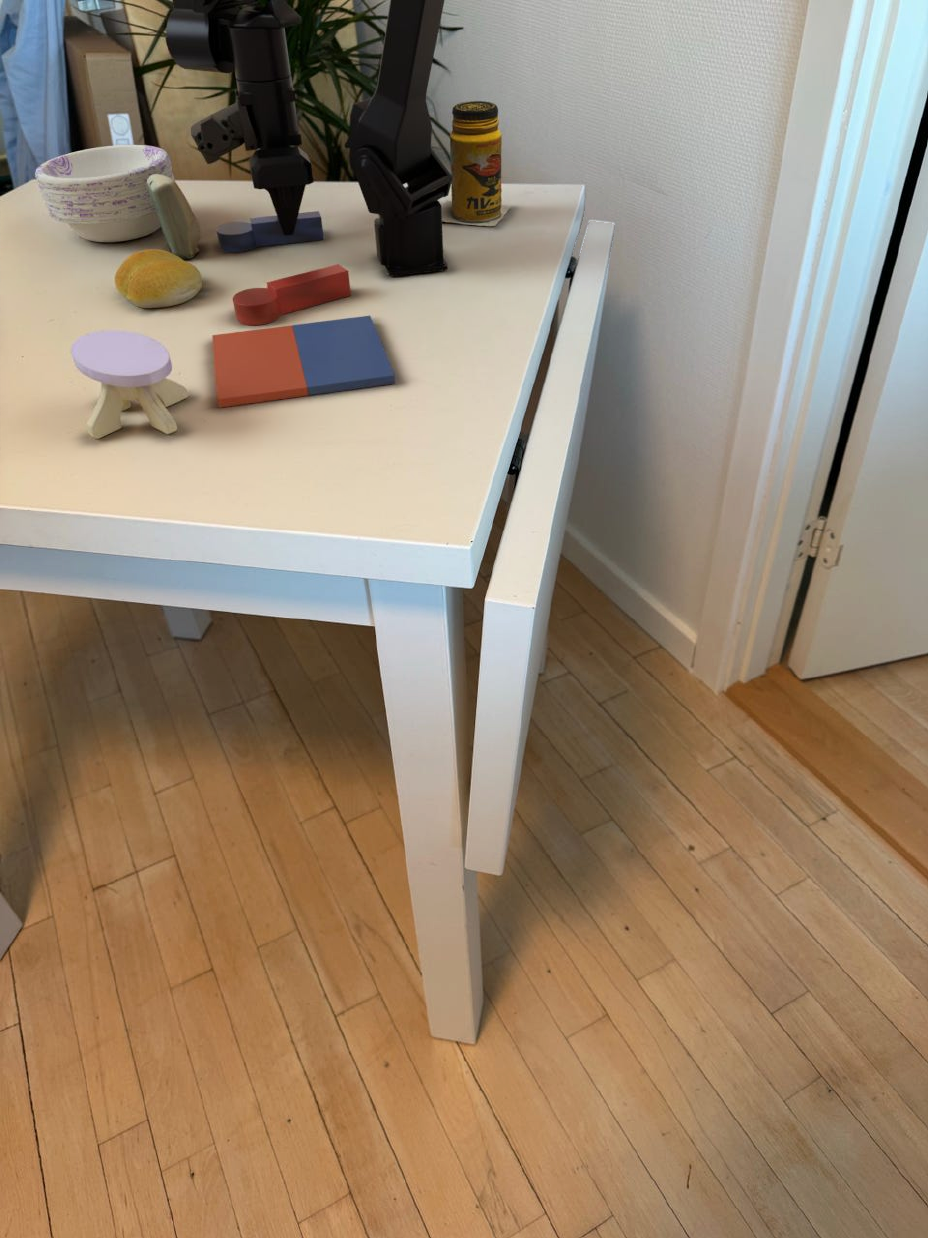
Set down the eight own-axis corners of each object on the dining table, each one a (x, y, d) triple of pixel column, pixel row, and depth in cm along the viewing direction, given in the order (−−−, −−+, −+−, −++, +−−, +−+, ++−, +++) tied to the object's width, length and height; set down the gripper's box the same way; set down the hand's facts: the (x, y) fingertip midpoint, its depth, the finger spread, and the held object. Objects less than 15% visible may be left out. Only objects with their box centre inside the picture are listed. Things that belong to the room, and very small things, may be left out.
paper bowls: (52, 221, 110) (29, 152, 105) (174, 203, 114) (158, 135, 109) (61, 261, 99) (36, 186, 94) (195, 239, 104) (178, 166, 98)
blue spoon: (320, 230, 105) (317, 207, 103) (325, 242, 102) (322, 219, 100) (219, 241, 103) (214, 218, 101) (220, 254, 100) (215, 230, 98)
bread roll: (146, 317, 87) (135, 277, 84) (109, 292, 92) (97, 253, 90) (220, 294, 91) (211, 255, 88) (180, 271, 96) (171, 233, 93)
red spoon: (336, 285, 92) (333, 260, 90) (356, 298, 89) (353, 273, 87) (229, 314, 87) (224, 288, 85) (247, 329, 84) (241, 302, 83)
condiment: (495, 227, 104) (495, 113, 96) (428, 221, 106) (422, 110, 98) (511, 208, 109) (512, 98, 101) (447, 203, 111) (443, 95, 103)
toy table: (66, 411, 73) (42, 346, 69) (167, 378, 77) (150, 315, 73) (109, 459, 67) (86, 390, 63) (216, 421, 71) (200, 354, 67)
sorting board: (370, 323, 85) (370, 315, 84) (395, 383, 75) (394, 374, 75) (213, 342, 82) (212, 334, 82) (218, 407, 73) (216, 399, 72)
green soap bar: (145, 255, 100) (125, 180, 95) (179, 241, 103) (161, 167, 98) (181, 263, 98) (163, 187, 92) (214, 248, 101) (198, 174, 96)
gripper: (184, 65, 97) (215, 213, 107) (185, 102, 83) (220, 267, 94) (285, 58, 99) (305, 204, 109) (302, 92, 85) (323, 256, 96)
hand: (287, 231), depth 102 cm, fingers closed on blue spoon, 2 cm apart
